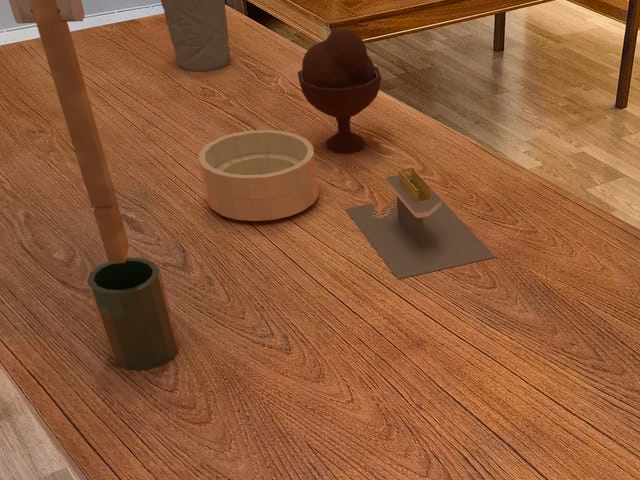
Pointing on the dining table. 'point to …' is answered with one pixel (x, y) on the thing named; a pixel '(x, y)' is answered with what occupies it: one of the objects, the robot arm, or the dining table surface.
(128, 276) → the crock
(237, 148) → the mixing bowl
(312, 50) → the ice cream bowl
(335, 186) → the dining table surface
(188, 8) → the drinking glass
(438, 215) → the platform
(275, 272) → the dining table surface
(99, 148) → the brown wooden stick
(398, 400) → the dining table surface
